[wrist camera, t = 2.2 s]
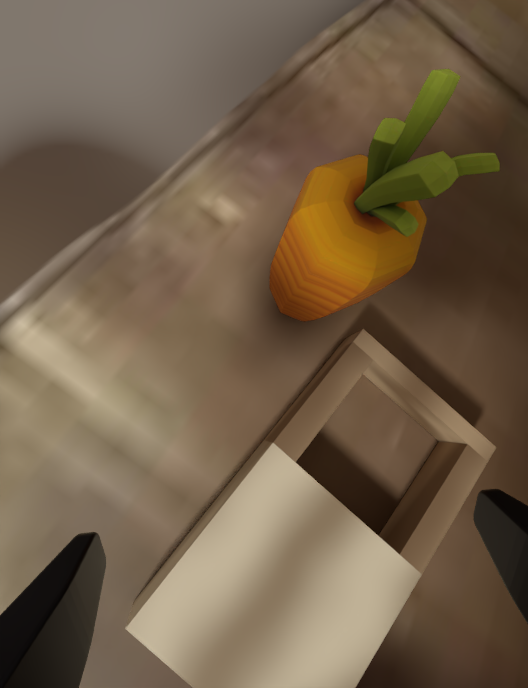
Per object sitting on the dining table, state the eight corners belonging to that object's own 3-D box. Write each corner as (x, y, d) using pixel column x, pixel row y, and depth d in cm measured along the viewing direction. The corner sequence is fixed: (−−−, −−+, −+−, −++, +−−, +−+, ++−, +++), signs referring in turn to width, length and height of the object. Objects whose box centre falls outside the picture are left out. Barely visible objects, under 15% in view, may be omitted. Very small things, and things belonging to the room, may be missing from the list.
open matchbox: (464, 444, 23) (496, 447, 21) (286, 734, 18) (300, 781, 16) (345, 338, 23) (363, 328, 21) (133, 601, 18) (125, 628, 16)
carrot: (284, 253, 24) (431, -9, 9) (341, 308, 24) (576, 131, 9) (230, 305, 22) (302, 94, 8) (290, 363, 22) (472, 258, 8)
